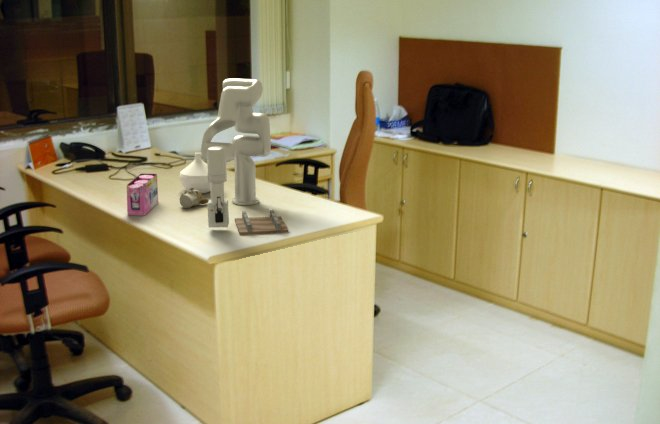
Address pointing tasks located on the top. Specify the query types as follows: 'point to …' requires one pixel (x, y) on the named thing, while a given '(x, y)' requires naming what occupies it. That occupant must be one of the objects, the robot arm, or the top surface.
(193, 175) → the vase
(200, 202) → the ceramic sculpture
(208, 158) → the robot arm
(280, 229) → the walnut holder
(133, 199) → the gum box
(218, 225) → the small box
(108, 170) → the top surface
